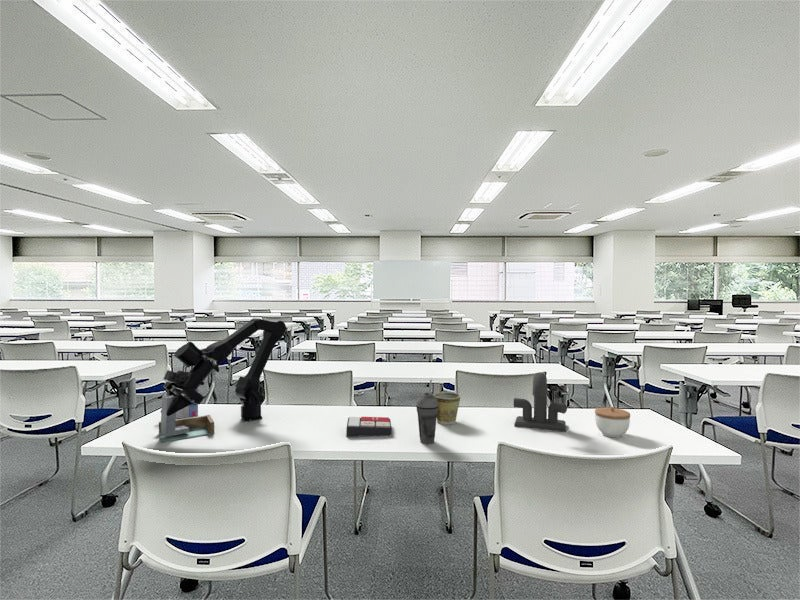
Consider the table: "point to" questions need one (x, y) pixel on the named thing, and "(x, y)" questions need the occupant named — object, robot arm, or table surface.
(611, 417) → the lidded jar
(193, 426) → the tray
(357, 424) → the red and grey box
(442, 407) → the ceramic cup
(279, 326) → the robot arm
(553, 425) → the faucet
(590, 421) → the table surface
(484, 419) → the table surface
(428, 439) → the beverage cup
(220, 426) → the table surface
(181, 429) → the angle bracket
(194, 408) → the ink cartridge box
